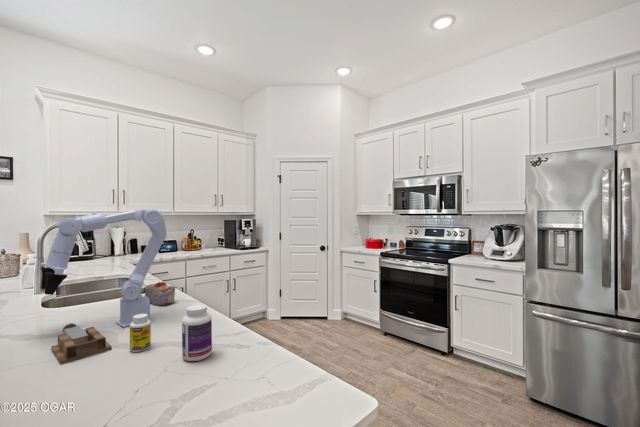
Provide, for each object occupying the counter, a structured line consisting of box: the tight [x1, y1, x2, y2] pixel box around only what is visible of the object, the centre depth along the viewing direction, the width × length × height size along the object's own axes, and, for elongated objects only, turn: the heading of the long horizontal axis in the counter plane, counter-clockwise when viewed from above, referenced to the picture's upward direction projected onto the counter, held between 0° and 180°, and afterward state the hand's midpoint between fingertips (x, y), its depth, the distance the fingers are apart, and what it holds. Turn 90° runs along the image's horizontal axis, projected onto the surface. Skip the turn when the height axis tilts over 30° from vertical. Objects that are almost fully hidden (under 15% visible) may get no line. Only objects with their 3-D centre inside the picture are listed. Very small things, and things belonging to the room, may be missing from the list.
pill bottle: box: [181, 304, 213, 362], centre depth 88 cm, size 8×8×14 cm
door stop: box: [62, 322, 88, 345], centre depth 98 cm, size 15×4×4 cm, turn 50°
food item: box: [144, 281, 176, 306], centre depth 139 cm, size 14×8×10 cm, turn 69°
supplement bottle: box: [129, 314, 152, 353], centre depth 93 cm, size 6×6×10 cm
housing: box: [50, 326, 112, 365], centre depth 92 cm, size 14×12×4 cm
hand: (47, 291), depth 101 cm, fingers open, 7 cm apart
